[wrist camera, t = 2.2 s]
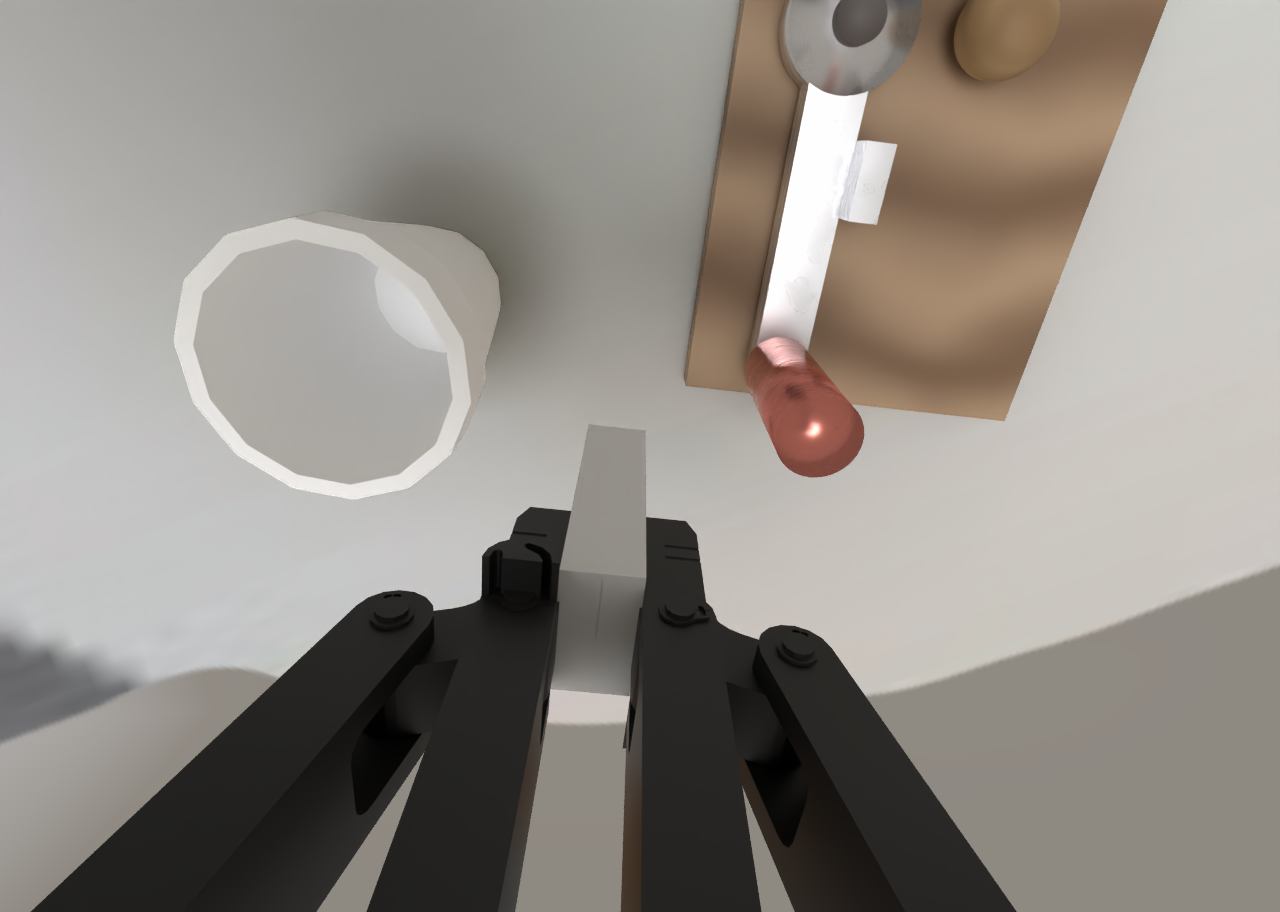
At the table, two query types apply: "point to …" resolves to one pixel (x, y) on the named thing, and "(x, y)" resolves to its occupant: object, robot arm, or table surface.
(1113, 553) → the table surface
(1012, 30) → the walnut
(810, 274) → the lever
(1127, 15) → the board
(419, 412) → the foam cup
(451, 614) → the robot arm
